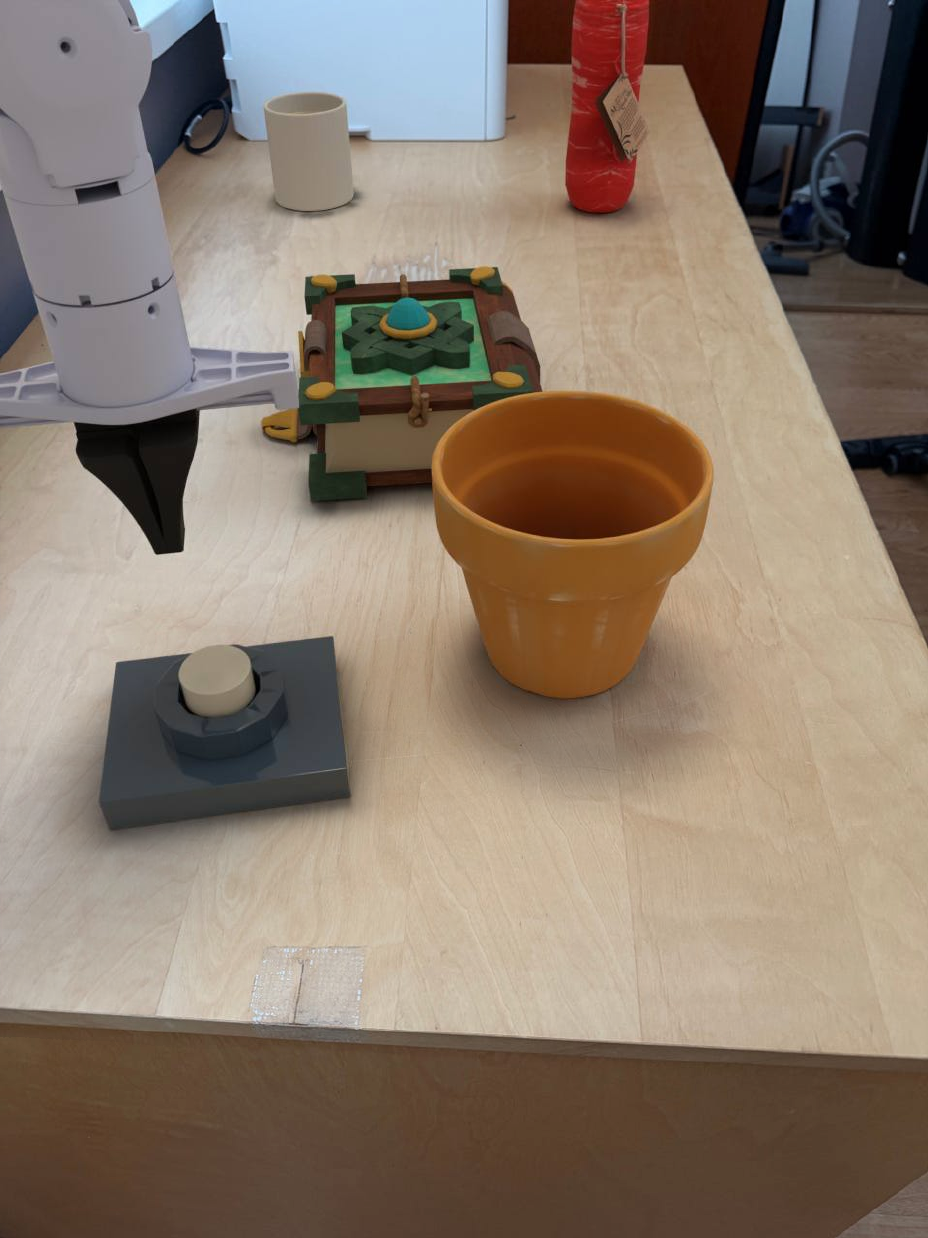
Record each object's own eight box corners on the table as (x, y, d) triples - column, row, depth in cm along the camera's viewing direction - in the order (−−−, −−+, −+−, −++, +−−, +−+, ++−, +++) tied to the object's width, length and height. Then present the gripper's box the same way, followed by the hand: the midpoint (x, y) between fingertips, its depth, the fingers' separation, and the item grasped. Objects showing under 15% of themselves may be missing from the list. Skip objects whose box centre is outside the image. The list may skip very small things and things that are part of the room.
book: (272, 336, 92) (256, 222, 85) (509, 323, 93) (511, 210, 87) (254, 508, 72) (230, 377, 65) (555, 489, 73) (562, 359, 67)
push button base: (109, 831, 51) (88, 778, 49) (124, 689, 59) (107, 637, 56) (351, 797, 53) (344, 744, 50) (336, 663, 60) (330, 611, 58)
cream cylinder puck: (183, 723, 52) (176, 698, 51) (186, 673, 55) (179, 648, 53) (256, 713, 52) (251, 689, 51) (255, 664, 55) (250, 640, 54)
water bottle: (651, 227, 110) (681, -52, 93) (577, 232, 109) (593, -48, 93) (624, 188, 119) (646, -72, 102) (555, 192, 118) (566, -69, 102)
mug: (294, 217, 114) (282, 119, 107) (261, 191, 120) (248, 97, 113) (382, 198, 118) (376, 102, 111) (347, 174, 124) (339, 82, 117)
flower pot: (441, 742, 55) (433, 548, 47) (437, 575, 66) (429, 392, 58) (705, 732, 56) (745, 537, 47) (658, 567, 66) (684, 384, 58)
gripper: (278, 228, 47) (312, 482, 56) (-59, 253, 45) (32, 510, 54) (282, 294, 41) (319, 563, 50) (-99, 324, 40) (9, 596, 49)
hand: (170, 541), depth 52 cm, fingers closed
